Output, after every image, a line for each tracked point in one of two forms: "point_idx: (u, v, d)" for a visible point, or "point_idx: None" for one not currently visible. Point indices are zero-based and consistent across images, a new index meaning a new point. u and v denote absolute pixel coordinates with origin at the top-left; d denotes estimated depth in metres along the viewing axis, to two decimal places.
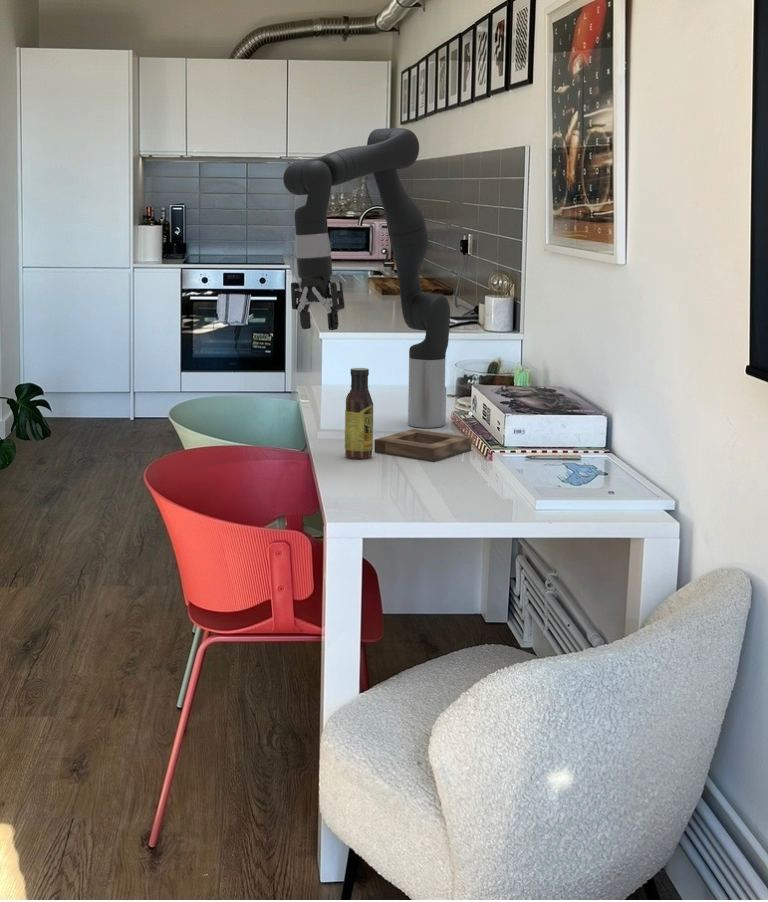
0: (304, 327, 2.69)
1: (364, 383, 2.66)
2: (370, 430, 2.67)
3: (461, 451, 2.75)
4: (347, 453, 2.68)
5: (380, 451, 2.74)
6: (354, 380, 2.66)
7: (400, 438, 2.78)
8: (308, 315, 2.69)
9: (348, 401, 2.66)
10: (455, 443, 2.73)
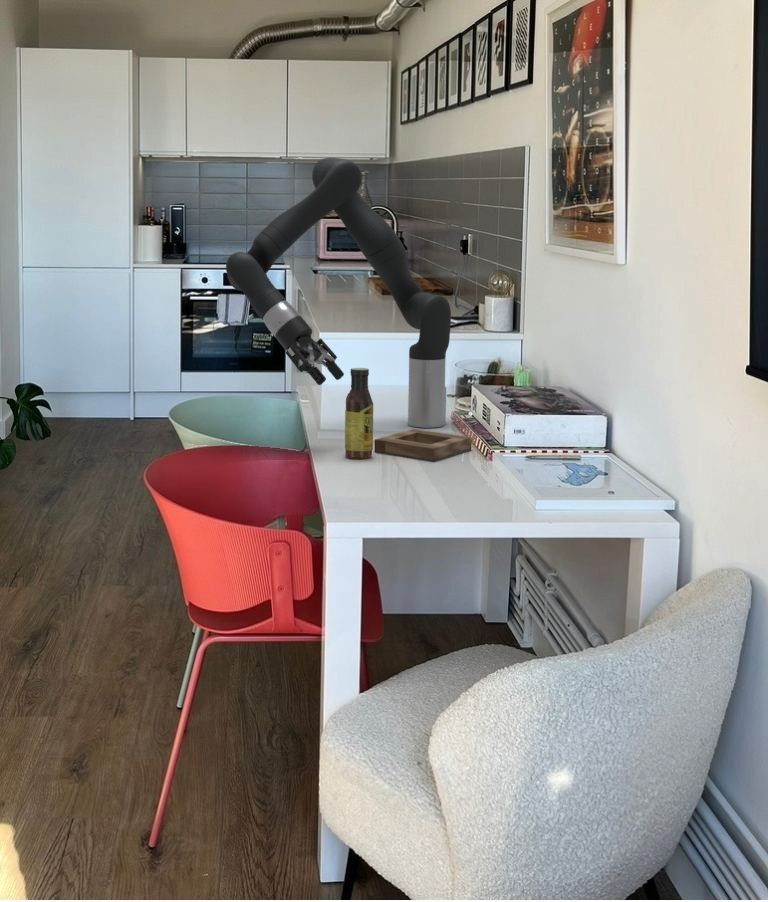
0: (336, 378, 2.73)
1: (364, 383, 2.66)
2: (370, 430, 2.67)
3: (461, 451, 2.75)
4: (347, 453, 2.68)
5: (380, 451, 2.74)
6: (354, 380, 2.66)
7: (400, 438, 2.78)
8: (334, 366, 2.73)
9: (348, 401, 2.66)
10: (455, 443, 2.73)
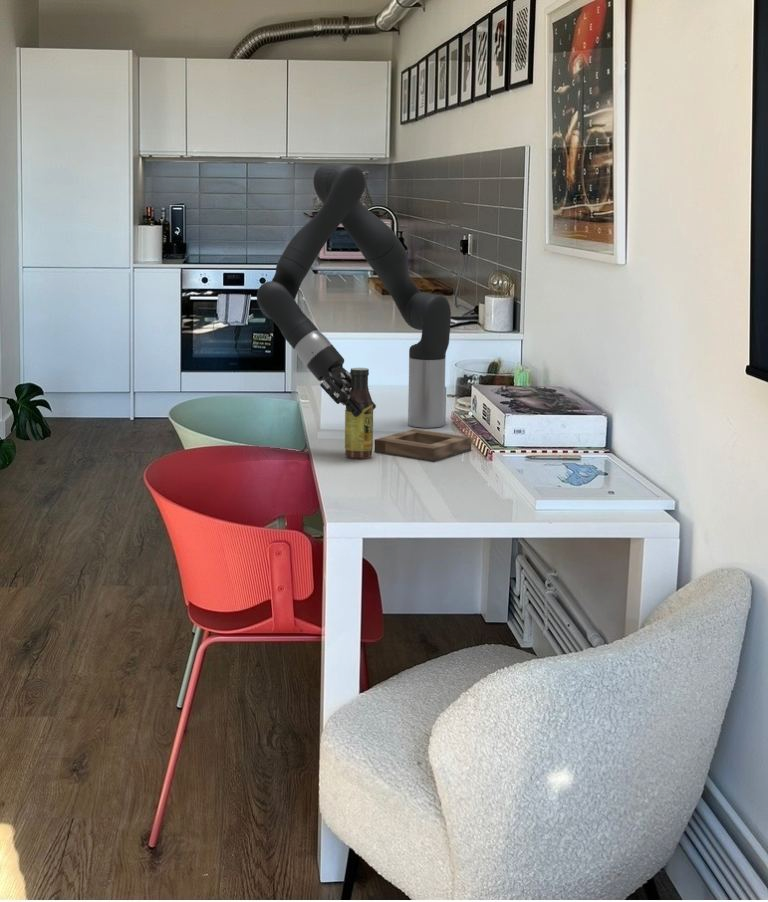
0: None
1: (364, 383, 2.65)
2: (370, 430, 2.67)
3: (461, 451, 2.75)
4: (347, 453, 2.68)
5: (380, 451, 2.74)
6: (354, 380, 2.65)
7: (400, 438, 2.78)
8: None
9: None
10: (455, 443, 2.73)
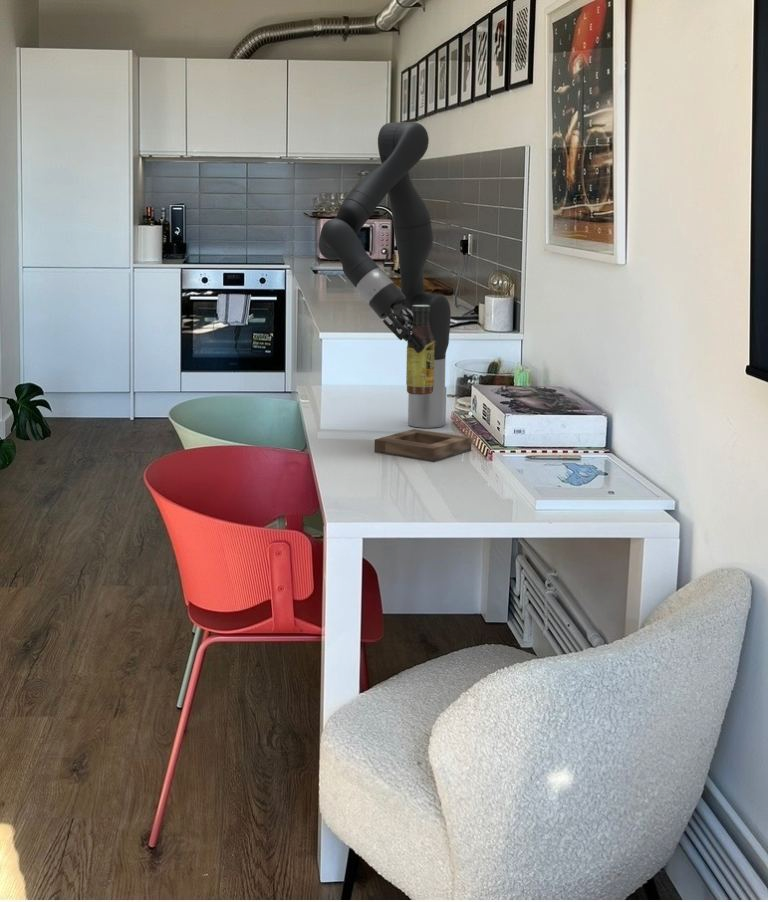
0: None
1: (426, 320, 2.69)
2: (432, 366, 2.71)
3: (461, 451, 2.75)
4: (409, 389, 2.72)
5: (380, 451, 2.74)
6: (416, 316, 2.69)
7: (400, 438, 2.78)
8: None
9: None
10: (455, 443, 2.73)
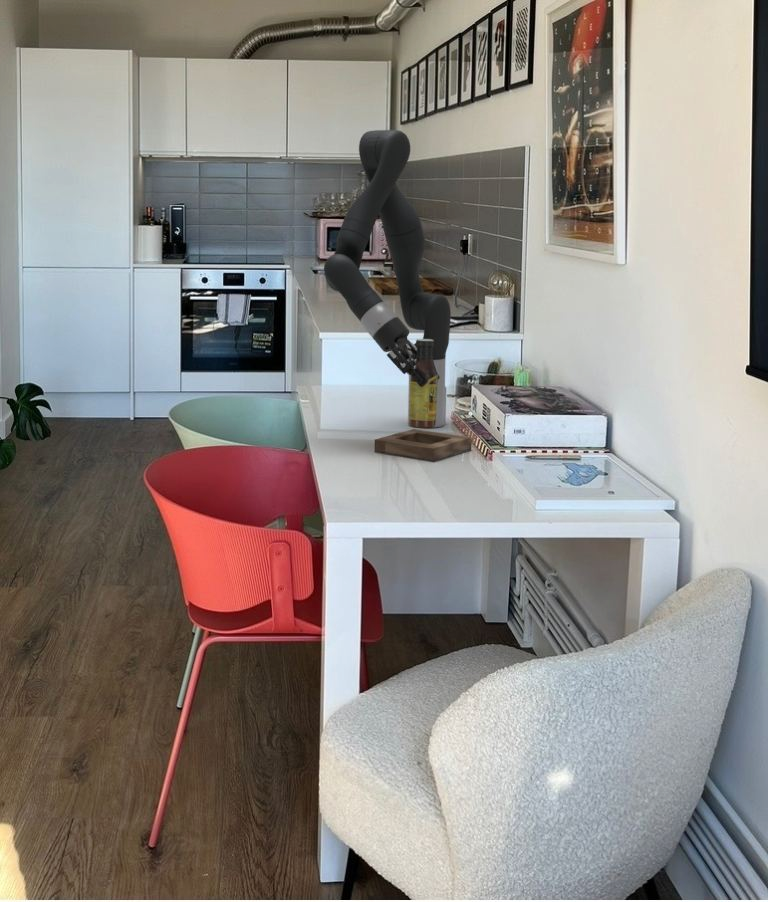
0: None
1: (429, 354, 2.71)
2: (434, 400, 2.73)
3: (461, 451, 2.75)
4: (411, 422, 2.74)
5: (380, 451, 2.74)
6: (419, 350, 2.71)
7: (400, 438, 2.78)
8: None
9: None
10: (455, 443, 2.73)
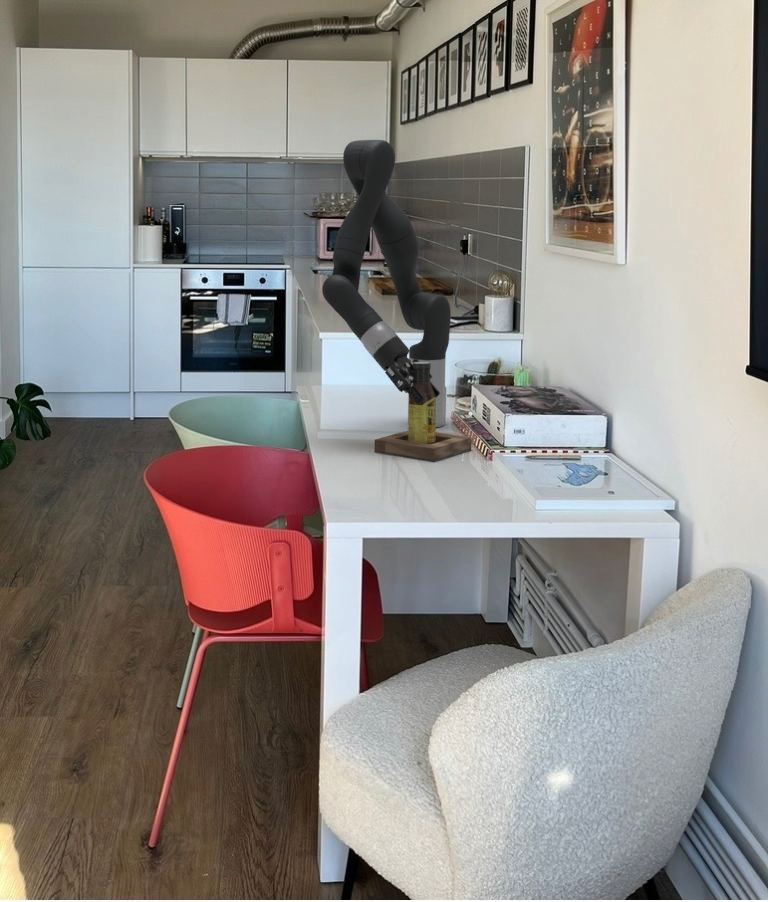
0: None
1: (426, 376, 2.72)
2: (433, 422, 2.74)
3: (461, 451, 2.75)
4: None
5: (380, 451, 2.74)
6: (416, 373, 2.72)
7: (400, 438, 2.78)
8: None
9: None
10: (455, 443, 2.73)
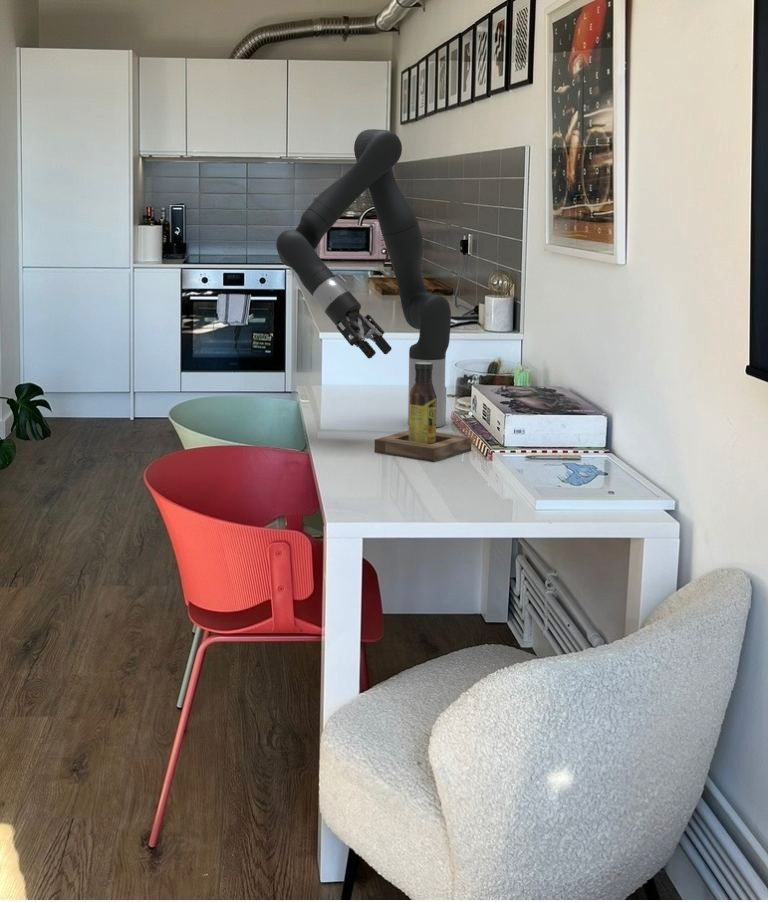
0: (384, 353, 2.81)
1: (428, 377, 2.72)
2: (434, 423, 2.74)
3: (461, 451, 2.75)
4: None
5: (380, 451, 2.74)
6: (418, 374, 2.72)
7: (400, 438, 2.78)
8: (381, 340, 2.80)
9: (413, 395, 2.72)
10: (455, 443, 2.73)
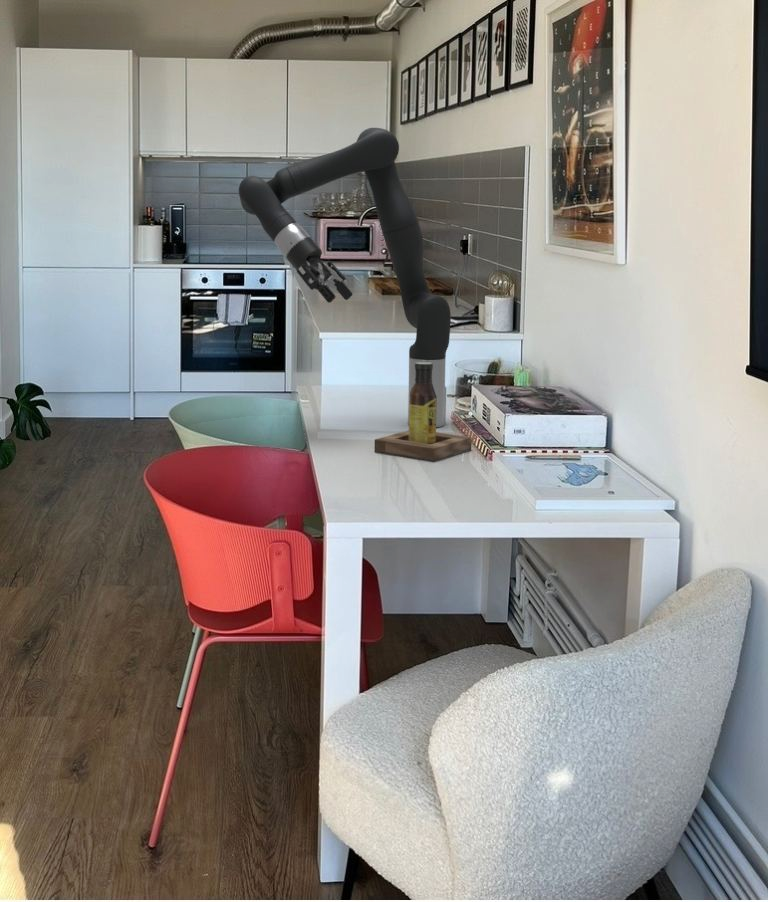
0: (345, 298, 2.84)
1: (428, 377, 2.72)
2: (434, 423, 2.74)
3: (461, 451, 2.75)
4: None
5: (380, 451, 2.74)
6: (418, 374, 2.72)
7: (400, 438, 2.78)
8: (342, 286, 2.83)
9: (413, 395, 2.72)
10: (455, 443, 2.73)
